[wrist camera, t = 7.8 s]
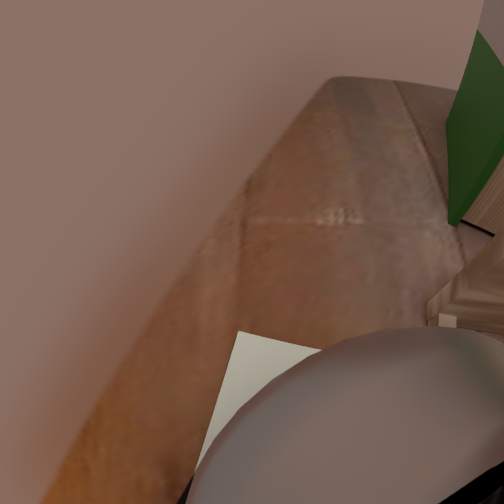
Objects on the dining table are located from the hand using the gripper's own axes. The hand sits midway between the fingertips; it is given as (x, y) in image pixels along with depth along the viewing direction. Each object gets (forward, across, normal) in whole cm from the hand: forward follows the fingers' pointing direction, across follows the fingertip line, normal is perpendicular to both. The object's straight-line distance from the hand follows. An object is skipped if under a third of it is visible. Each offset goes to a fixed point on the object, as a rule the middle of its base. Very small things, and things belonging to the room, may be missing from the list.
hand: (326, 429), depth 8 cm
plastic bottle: (+6, 0, +8) cm, 10 cm away
